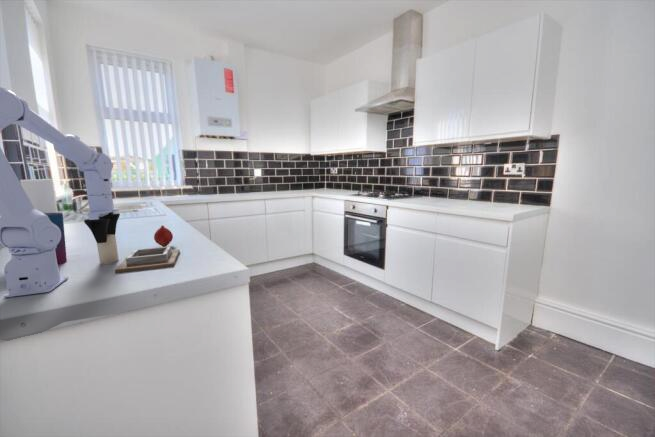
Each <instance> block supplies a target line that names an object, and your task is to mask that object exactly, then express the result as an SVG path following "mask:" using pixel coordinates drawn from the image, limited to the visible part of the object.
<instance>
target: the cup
mask: <svg viewBox="0 0 655 437" xmlns="http://www.w3.org/2000/svg"><path fill="white" fill-rule="evenodd" d="M44 214H45V215H47V216H48V217H49V219H50V221H51V222H52V223H53V224H55V225H57V226H58V227H59V229H60V231H61V240H60V242H59V243H58V245H56V246H57V248H56V249H55V252H56V258H57V264H58V265H61V264H64V263H67V260H68V259H67V258H68V257H67V248H66V247H67V246H66V237H65V236H66V235H65V225H64V213H63V212H58V213H44Z"/></svg>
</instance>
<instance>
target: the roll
mask: <svg viewBox="0 0 655 437" xmlns="http://www.w3.org/2000/svg"><path fill="white" fill-rule="evenodd" d="M96 246H97V253H98V259H99V264H100V265H108V264H109V265H111V264H113V263H118V262H119V260H120V259H119V252H118V247H117V246H118V245H117V239H116V234H115V235H113V234H110V235H107V242H106V243H97V242H96Z"/></svg>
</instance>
